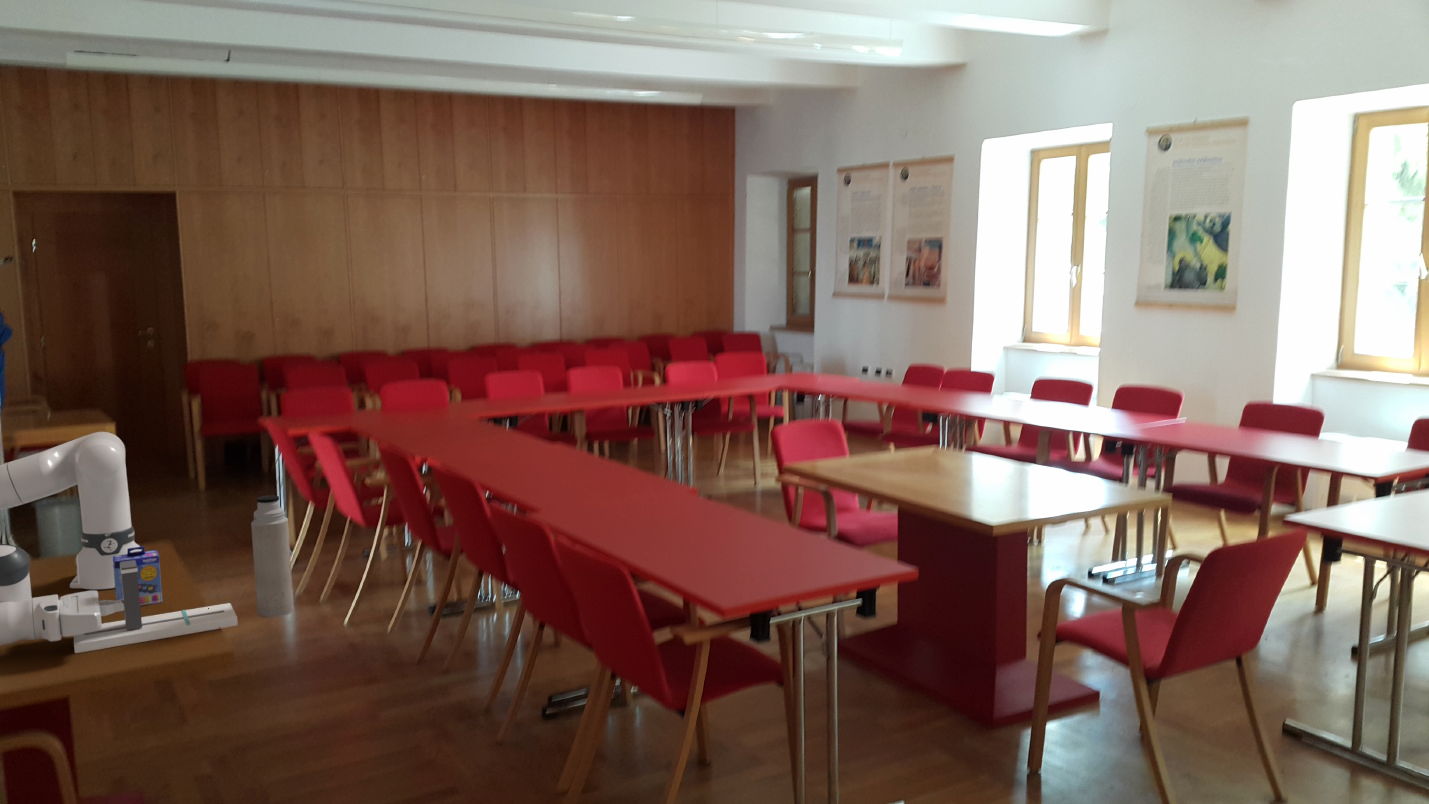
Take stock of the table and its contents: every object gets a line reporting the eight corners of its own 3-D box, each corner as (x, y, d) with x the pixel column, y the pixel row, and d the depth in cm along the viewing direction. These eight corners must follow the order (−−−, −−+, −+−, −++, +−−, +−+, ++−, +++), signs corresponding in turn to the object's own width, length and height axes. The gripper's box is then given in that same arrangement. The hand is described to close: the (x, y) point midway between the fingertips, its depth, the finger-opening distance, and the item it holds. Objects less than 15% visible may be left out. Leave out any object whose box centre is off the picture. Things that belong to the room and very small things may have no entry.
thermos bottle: (291, 604, 256) (283, 491, 252) (296, 614, 249) (288, 497, 246) (255, 610, 252) (247, 495, 249) (259, 620, 245) (251, 502, 242)
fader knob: (124, 622, 238) (119, 562, 236) (140, 619, 239) (135, 559, 238) (126, 630, 233) (121, 568, 231) (142, 627, 234) (137, 566, 232)
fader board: (74, 637, 235) (73, 627, 235) (230, 611, 252) (229, 602, 252) (74, 653, 225) (73, 643, 225) (237, 625, 242) (237, 616, 242)
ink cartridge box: (117, 610, 254) (112, 551, 252) (115, 604, 258) (110, 546, 256) (163, 602, 259) (158, 545, 257) (161, 596, 264) (156, 540, 262)
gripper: (51, 617, 235) (122, 606, 242) (51, 644, 218) (127, 631, 225) (49, 589, 234) (120, 579, 242) (48, 614, 217) (125, 603, 224)
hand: (124, 604), depth 233 cm, fingers closed, pressing on fader knob
